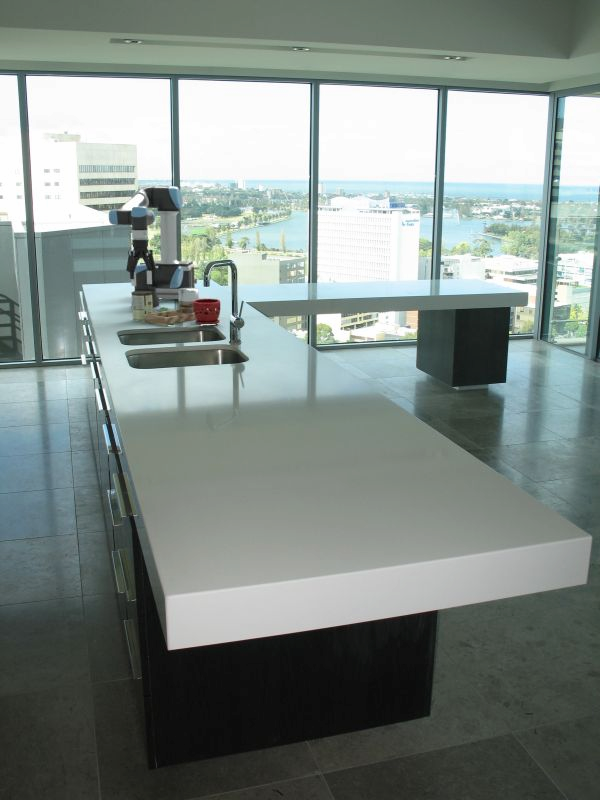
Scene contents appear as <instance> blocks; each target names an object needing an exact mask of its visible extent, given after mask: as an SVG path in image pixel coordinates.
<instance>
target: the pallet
mask: <svg viewBox="0 0 600 800" xmlns="http://www.w3.org/2000/svg"><path fill="white" fill-rule="evenodd" d="M169 310H170V311H164V312H157V313H150V314H144V321H145V322H144V323H145V324H150V325H158V326H163V325H165V326H164V327H169V326H168V325H171V326H175V325H174V324H177V323H182V322H189V321H196V320H197V319H196V317H195V314H194V313H191V314H186V313H180V312H179V308H177V309H169Z"/></svg>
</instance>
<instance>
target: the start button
mask: <svg viewBox="0 0 600 800" xmlns="http://www.w3.org/2000/svg"><path fill="white" fill-rule="evenodd" d="M160 310H161V312H164V311H169V310H170V307H169V306H161V307H160Z"/></svg>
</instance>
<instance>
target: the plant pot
mask: <svg viewBox="0 0 600 800" xmlns="http://www.w3.org/2000/svg"><path fill="white" fill-rule="evenodd" d="M193 308H194V314H195V317H196V320H195V324H198V325H200V324H217V323H218V324H219V323H220V319H219V317H220V314H221V300H220V299H217V298H198V300H195V301H193ZM218 324H217V325H218Z"/></svg>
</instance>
